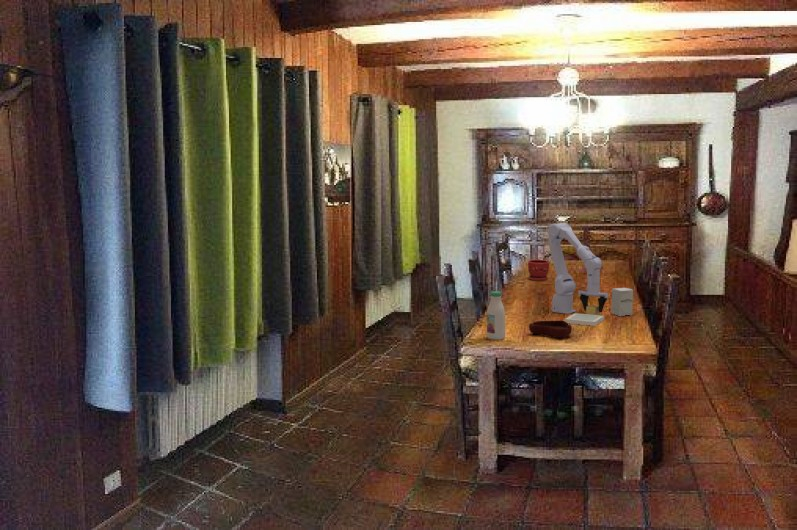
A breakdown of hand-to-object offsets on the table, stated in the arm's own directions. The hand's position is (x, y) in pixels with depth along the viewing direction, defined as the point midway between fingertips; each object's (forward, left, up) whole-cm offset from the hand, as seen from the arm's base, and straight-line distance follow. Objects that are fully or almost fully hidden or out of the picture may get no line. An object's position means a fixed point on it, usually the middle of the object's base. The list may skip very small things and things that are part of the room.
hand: (593, 311), depth 343 cm
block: (0, 0, -3) cm, 3 cm away
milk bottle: (-13, -62, -3) cm, 63 cm away
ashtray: (+3, -42, -3) cm, 42 cm away
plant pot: (-78, +79, -3) cm, 111 cm away
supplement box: (+9, +12, -3) cm, 15 cm away
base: (+2, -12, -3) cm, 12 cm away
